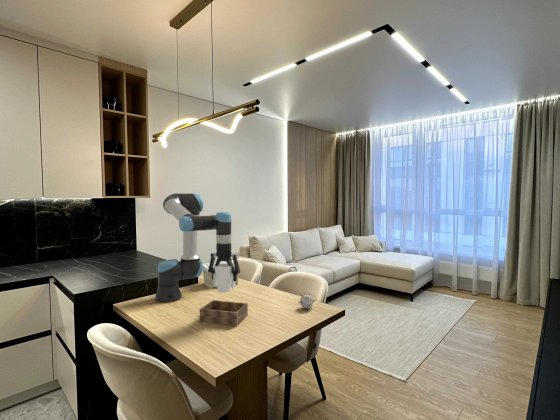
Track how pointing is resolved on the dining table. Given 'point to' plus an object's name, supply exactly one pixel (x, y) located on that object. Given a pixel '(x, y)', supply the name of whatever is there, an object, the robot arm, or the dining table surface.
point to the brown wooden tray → (224, 313)
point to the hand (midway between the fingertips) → (224, 286)
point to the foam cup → (223, 277)
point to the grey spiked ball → (306, 301)
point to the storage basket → (208, 275)
